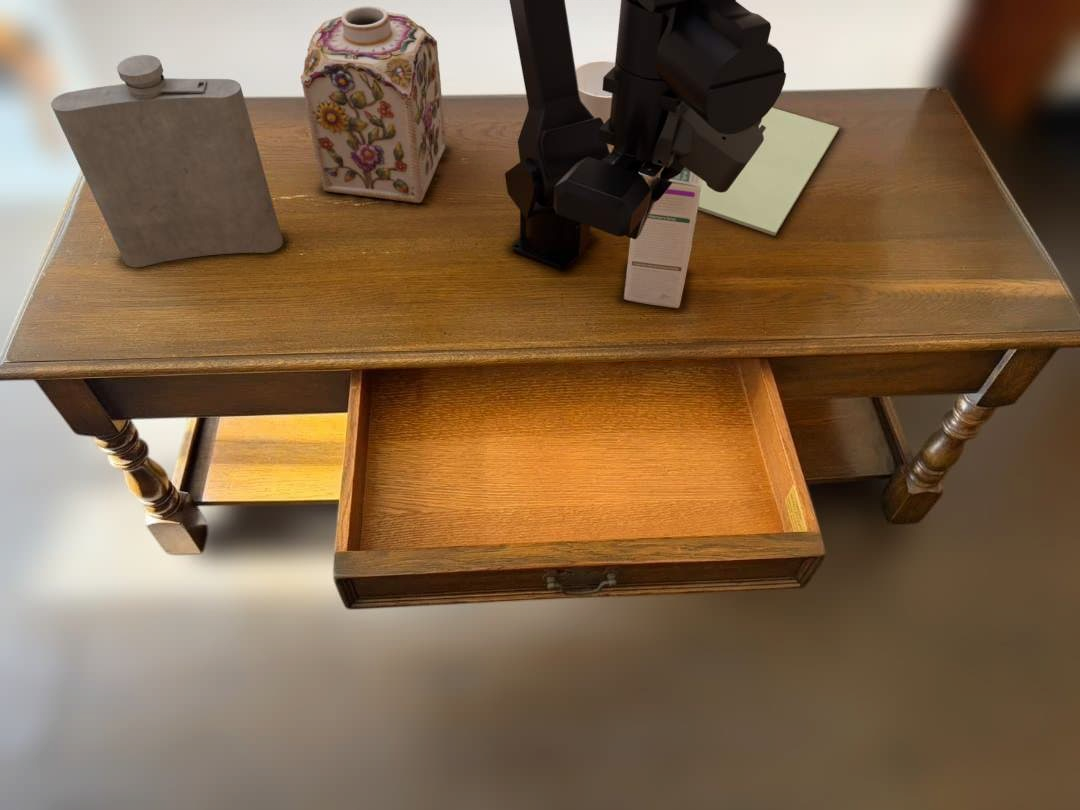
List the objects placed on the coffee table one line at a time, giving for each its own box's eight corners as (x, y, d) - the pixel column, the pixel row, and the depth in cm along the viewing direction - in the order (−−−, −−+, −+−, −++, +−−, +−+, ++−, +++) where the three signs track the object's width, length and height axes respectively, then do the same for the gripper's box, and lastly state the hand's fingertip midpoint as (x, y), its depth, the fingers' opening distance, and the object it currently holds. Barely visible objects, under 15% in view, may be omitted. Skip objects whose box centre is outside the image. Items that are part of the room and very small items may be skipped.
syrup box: (680, 310, 82) (705, 186, 71) (620, 301, 83) (636, 177, 72) (685, 272, 86) (710, 149, 75) (628, 264, 87) (644, 141, 75)
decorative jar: (422, 207, 92) (405, 49, 78) (321, 194, 93) (286, 36, 79) (448, 146, 100) (437, -7, 86) (354, 135, 101) (328, -18, 87)
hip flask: (122, 269, 84) (34, 84, 69) (126, 244, 87) (43, 60, 72) (283, 251, 87) (232, 68, 71) (282, 227, 89) (234, 45, 74)
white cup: (614, 184, 95) (622, 104, 88) (554, 163, 98) (557, 84, 90) (643, 151, 100) (653, 72, 92) (585, 131, 102) (590, 53, 95)
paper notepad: (672, 201, 94) (673, 197, 93) (747, 103, 107) (748, 100, 107) (774, 236, 90) (775, 232, 90) (838, 130, 104) (839, 127, 103)
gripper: (712, 159, 51) (674, 338, 63) (807, 35, 62) (760, 208, 74) (553, 108, 54) (546, 286, 66) (669, -2, 65) (645, 169, 77)
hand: (632, 235), depth 71 cm, fingers closed
